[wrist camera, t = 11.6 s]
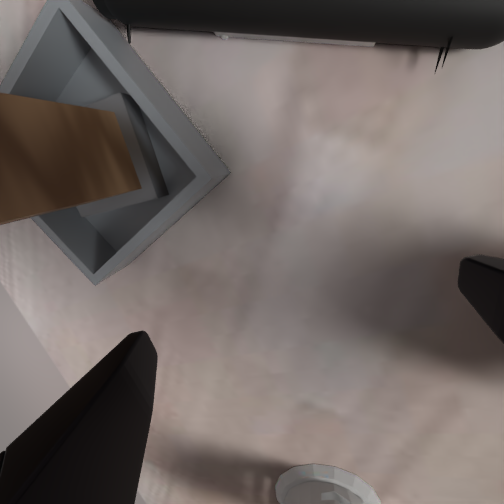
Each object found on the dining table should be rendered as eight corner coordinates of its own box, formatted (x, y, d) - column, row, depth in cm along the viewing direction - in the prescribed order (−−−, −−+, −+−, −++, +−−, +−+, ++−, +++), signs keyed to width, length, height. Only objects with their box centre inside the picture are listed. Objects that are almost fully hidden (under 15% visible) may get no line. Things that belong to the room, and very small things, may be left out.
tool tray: (230, 172, 18) (212, 178, 15) (127, 265, 22) (95, 285, 19) (108, 16, 16) (55, -16, 13) (21, 148, 21) (-35, 148, 17)
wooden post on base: (169, 194, 19) (-147, 298, 6) (97, 212, 20) (-272, 325, 8) (136, 96, 17) (-411, -56, 4) (60, 125, 19) (-498, 79, 6)
